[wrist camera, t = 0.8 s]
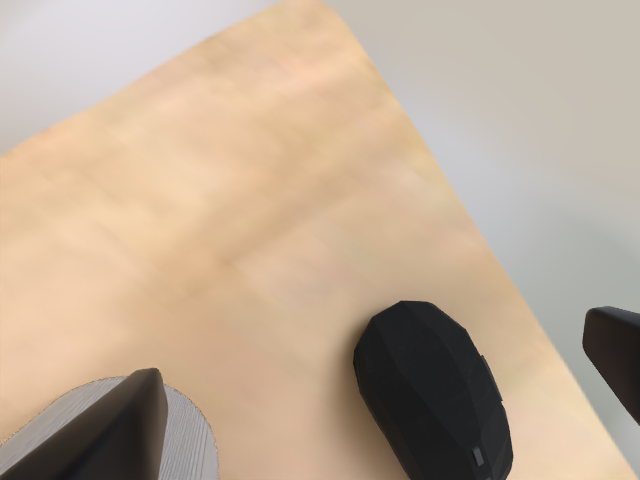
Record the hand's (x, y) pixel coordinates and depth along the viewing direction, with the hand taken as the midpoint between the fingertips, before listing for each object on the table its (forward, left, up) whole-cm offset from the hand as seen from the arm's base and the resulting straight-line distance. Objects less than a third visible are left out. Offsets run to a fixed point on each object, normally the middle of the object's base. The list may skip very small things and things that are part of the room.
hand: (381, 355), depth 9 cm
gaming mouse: (-5, -10, -14) cm, 18 cm away
